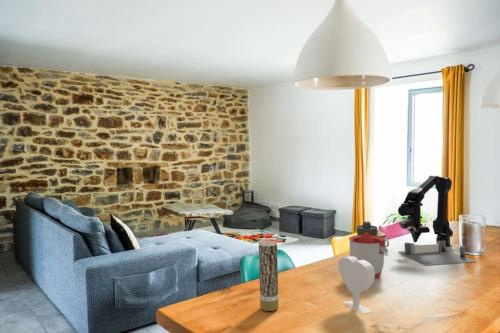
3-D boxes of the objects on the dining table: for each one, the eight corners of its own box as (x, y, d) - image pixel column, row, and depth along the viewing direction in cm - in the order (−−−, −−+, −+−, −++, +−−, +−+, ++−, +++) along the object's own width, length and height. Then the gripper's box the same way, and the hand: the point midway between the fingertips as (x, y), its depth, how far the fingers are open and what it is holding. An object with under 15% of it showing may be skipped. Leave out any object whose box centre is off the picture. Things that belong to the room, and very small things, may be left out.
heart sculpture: (376, 312, 144) (376, 263, 143) (366, 315, 141) (365, 265, 140) (347, 298, 157) (346, 253, 156) (337, 301, 155) (336, 255, 154)
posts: (448, 251, 221) (448, 239, 220) (466, 258, 207) (466, 245, 206) (404, 254, 217) (404, 242, 216) (419, 261, 203) (419, 249, 202)
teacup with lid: (365, 249, 228) (365, 229, 228) (375, 247, 234) (375, 227, 233) (383, 254, 219) (383, 232, 218) (393, 251, 224) (393, 230, 223)
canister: (380, 263, 203) (380, 223, 202) (359, 263, 203) (359, 224, 202) (374, 257, 213) (373, 219, 212) (354, 257, 214) (354, 220, 213)
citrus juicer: (381, 284, 172) (381, 238, 171) (343, 276, 183) (343, 233, 182) (393, 274, 185) (393, 231, 184) (357, 268, 195) (356, 227, 194)
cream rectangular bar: (439, 250, 220) (439, 241, 219) (441, 251, 218) (441, 242, 218) (409, 252, 217) (409, 243, 217) (411, 253, 215) (411, 244, 215)
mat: (443, 249, 226) (443, 248, 226) (475, 262, 200) (475, 261, 200) (398, 252, 221) (398, 251, 221) (426, 265, 196) (426, 265, 196)
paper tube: (267, 303, 154) (266, 239, 153) (282, 308, 150) (280, 241, 149) (256, 309, 149) (254, 243, 148) (271, 314, 145) (269, 245, 143)
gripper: (392, 212, 228) (392, 239, 229) (410, 218, 210) (410, 247, 211) (410, 211, 230) (411, 238, 231) (430, 216, 212) (430, 246, 212)
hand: (415, 242), depth 221 cm, fingers closed
